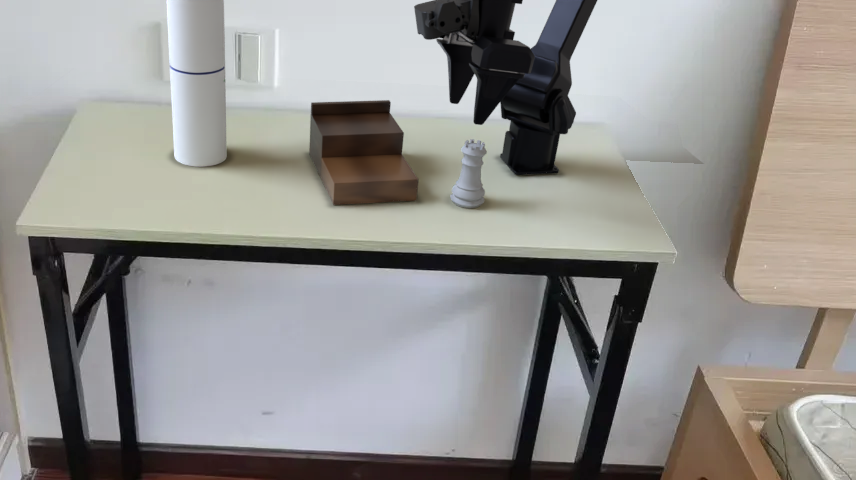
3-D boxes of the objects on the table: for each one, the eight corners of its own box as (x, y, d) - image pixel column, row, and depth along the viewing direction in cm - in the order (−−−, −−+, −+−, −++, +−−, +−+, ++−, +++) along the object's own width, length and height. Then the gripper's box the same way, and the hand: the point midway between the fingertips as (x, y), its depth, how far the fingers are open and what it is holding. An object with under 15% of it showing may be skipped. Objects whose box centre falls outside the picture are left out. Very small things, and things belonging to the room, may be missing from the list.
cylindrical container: (164, 160, 131) (153, -34, 116) (190, 141, 136) (182, -46, 122) (211, 170, 129) (205, -26, 114) (235, 151, 134) (233, -38, 120)
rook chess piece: (448, 193, 127) (455, 135, 122) (482, 195, 127) (491, 137, 122) (450, 208, 123) (458, 149, 118) (485, 210, 123) (494, 151, 118)
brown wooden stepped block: (385, 151, 137) (389, 99, 133) (416, 200, 124) (422, 145, 120) (309, 154, 135) (310, 102, 130) (333, 205, 122) (336, 149, 118)
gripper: (407, -43, 116) (383, 86, 124) (455, -18, 101) (424, 129, 108) (492, -30, 119) (464, 96, 127) (552, -4, 103) (516, 138, 111)
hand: (465, 113), depth 118 cm, fingers open, 9 cm apart
